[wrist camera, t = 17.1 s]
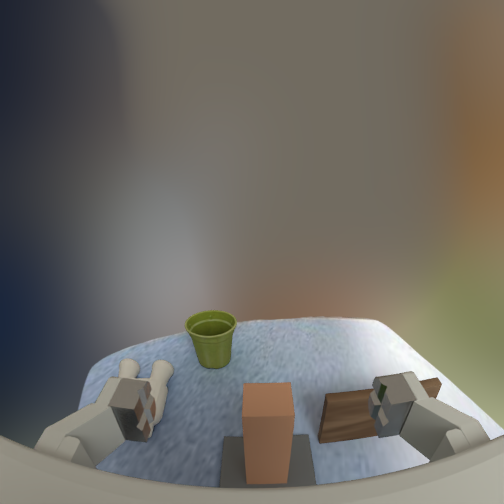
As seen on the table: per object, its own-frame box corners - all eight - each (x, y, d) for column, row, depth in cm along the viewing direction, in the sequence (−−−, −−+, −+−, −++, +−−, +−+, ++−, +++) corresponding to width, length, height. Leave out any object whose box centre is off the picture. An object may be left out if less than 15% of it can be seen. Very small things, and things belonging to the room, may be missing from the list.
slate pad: (317, 505, 28) (318, 502, 28) (218, 507, 29) (217, 505, 28) (307, 437, 40) (308, 434, 40) (224, 439, 40) (224, 436, 40)
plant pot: (210, 382, 53) (205, 342, 50) (181, 359, 59) (175, 321, 56) (248, 360, 59) (247, 322, 56) (217, 341, 65) (214, 305, 63)
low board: (423, 425, 38) (441, 384, 36) (319, 443, 39) (327, 402, 36) (420, 419, 40) (437, 377, 37) (318, 435, 40) (325, 393, 37)
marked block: (286, 483, 32) (294, 415, 27) (246, 484, 32) (242, 416, 27) (284, 452, 37) (290, 380, 32) (247, 453, 37) (243, 381, 32)
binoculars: (175, 377, 54) (172, 357, 53) (162, 443, 39) (155, 423, 38) (123, 374, 54) (117, 355, 52) (99, 435, 39) (89, 416, 37)
